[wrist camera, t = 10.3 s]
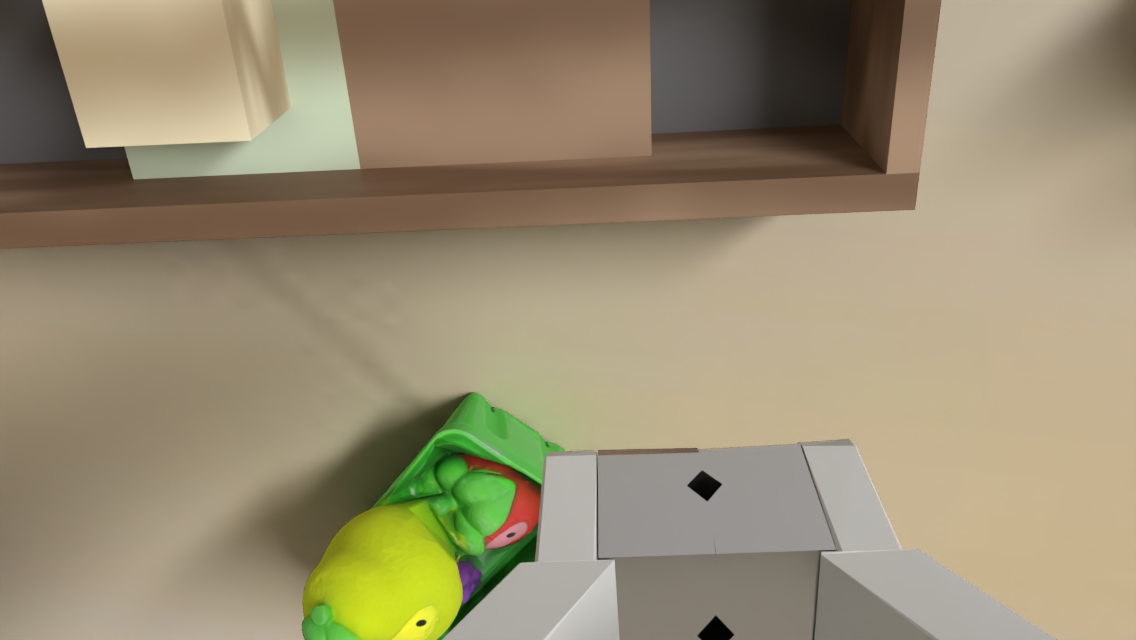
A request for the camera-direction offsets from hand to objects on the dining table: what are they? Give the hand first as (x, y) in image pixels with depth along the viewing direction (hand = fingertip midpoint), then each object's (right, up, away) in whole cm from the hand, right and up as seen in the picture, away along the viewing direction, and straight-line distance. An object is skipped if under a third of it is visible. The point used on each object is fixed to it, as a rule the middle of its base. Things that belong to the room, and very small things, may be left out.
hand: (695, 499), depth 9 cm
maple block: (-13, +11, +20) cm, 26 cm away
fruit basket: (-7, -5, +32) cm, 33 cm away
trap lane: (-8, +12, +23) cm, 27 cm away
